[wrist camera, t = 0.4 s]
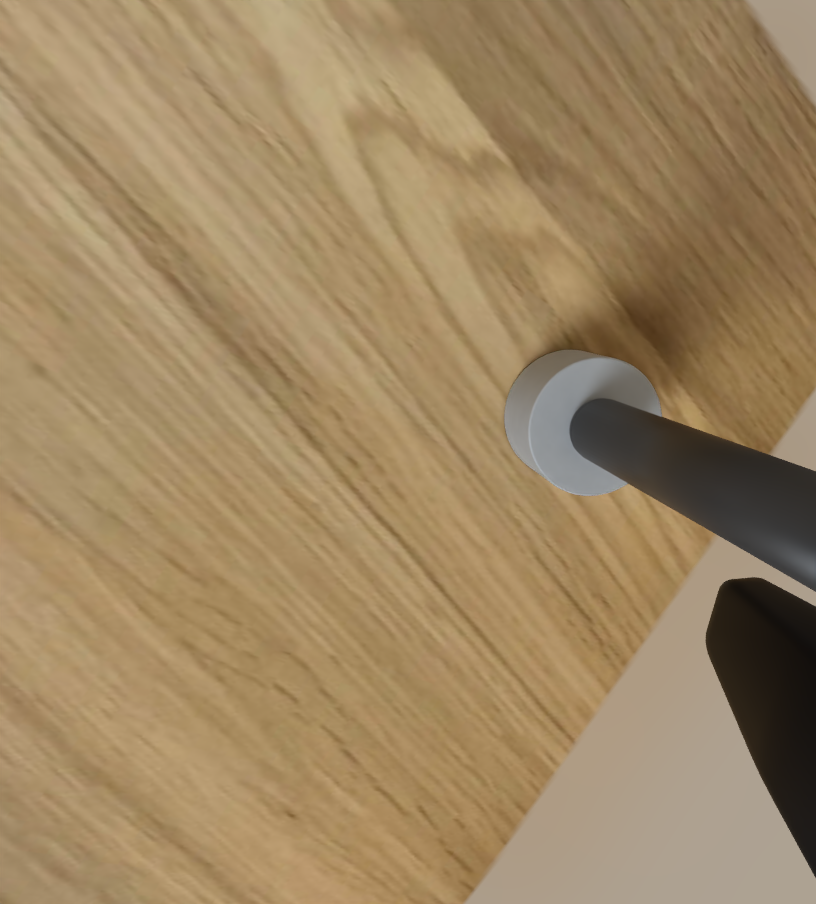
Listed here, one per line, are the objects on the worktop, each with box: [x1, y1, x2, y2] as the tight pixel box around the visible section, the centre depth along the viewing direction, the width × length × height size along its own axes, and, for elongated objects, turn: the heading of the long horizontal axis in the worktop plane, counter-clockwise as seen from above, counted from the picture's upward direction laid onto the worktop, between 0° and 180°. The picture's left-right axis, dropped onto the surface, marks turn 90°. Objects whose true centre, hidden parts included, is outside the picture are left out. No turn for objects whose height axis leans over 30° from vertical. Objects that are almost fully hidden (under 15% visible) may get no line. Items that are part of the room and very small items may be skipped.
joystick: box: [504, 350, 816, 592], centre depth 17 cm, size 4×4×14 cm
